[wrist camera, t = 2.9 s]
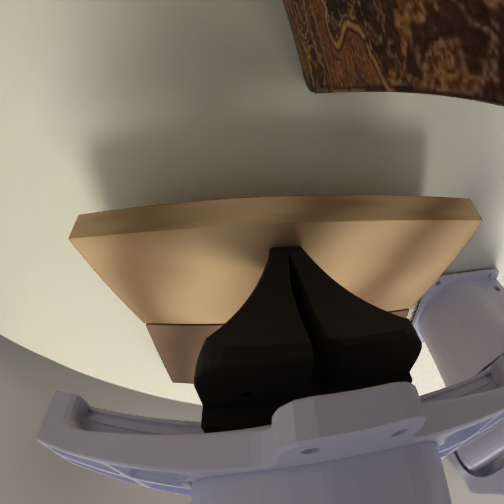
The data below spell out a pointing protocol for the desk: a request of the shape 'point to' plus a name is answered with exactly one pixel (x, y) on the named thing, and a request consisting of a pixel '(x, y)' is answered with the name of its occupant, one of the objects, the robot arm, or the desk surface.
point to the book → (402, 46)
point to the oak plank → (261, 240)
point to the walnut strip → (189, 345)
